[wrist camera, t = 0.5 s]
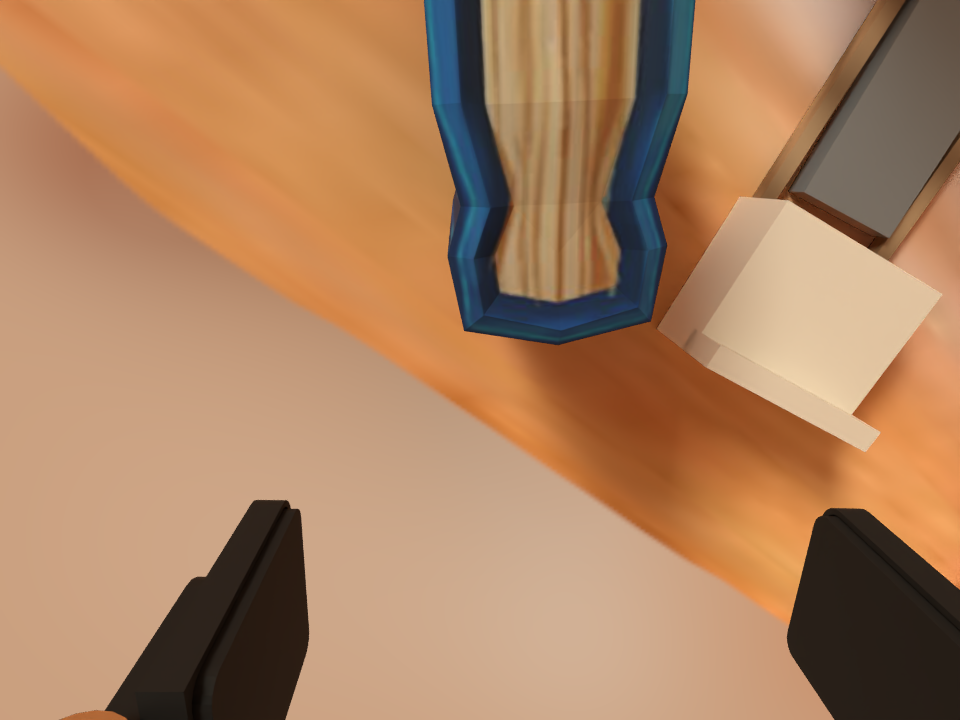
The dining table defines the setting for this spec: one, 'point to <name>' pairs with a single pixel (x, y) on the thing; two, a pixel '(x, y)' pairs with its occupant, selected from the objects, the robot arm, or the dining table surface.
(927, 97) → the slate gray sliding drawer
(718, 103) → the dining table surface
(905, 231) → the guide rails
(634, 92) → the book
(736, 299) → the shelf
